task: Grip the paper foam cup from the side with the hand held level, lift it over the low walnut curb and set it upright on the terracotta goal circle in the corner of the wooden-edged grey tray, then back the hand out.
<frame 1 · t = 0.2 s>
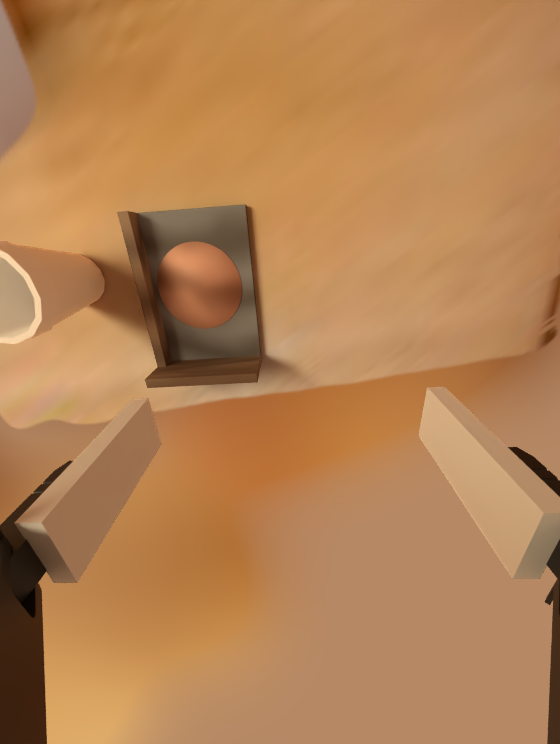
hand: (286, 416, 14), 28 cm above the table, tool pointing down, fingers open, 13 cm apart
wooden-edged grey tray: (201, 286, 38), on the table
foam cup: (81, 278, 38), on the table
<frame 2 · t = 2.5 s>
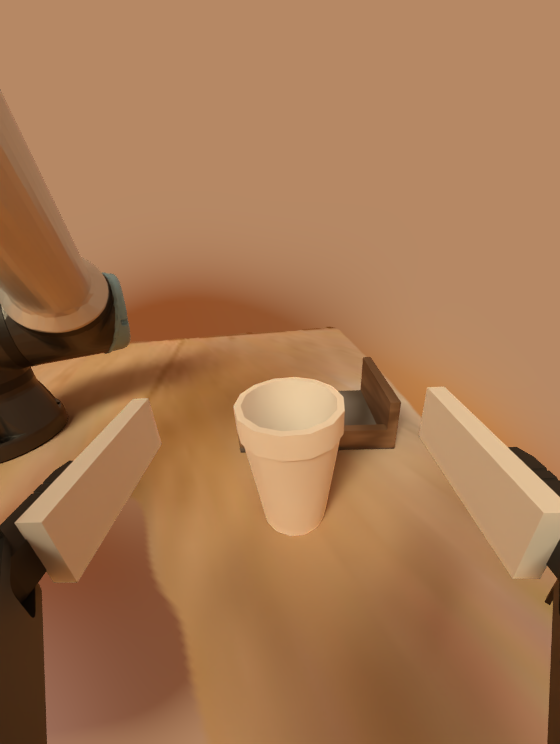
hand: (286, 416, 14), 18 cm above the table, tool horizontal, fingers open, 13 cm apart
wooden-edged grey tray: (305, 419, 45), on the table
foam cup: (294, 509, 30), on the table
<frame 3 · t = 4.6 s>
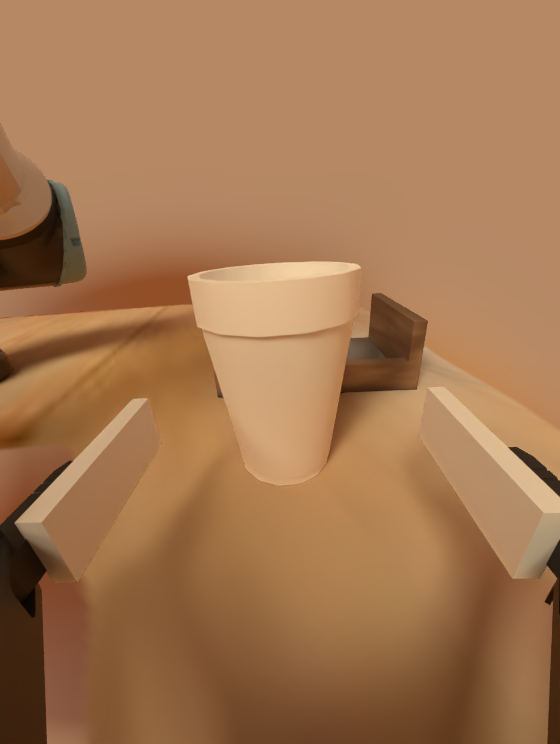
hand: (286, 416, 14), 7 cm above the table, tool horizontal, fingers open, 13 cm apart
wooden-edged grey tray: (301, 365, 36), on the table
foam cup: (285, 455, 22), on the table
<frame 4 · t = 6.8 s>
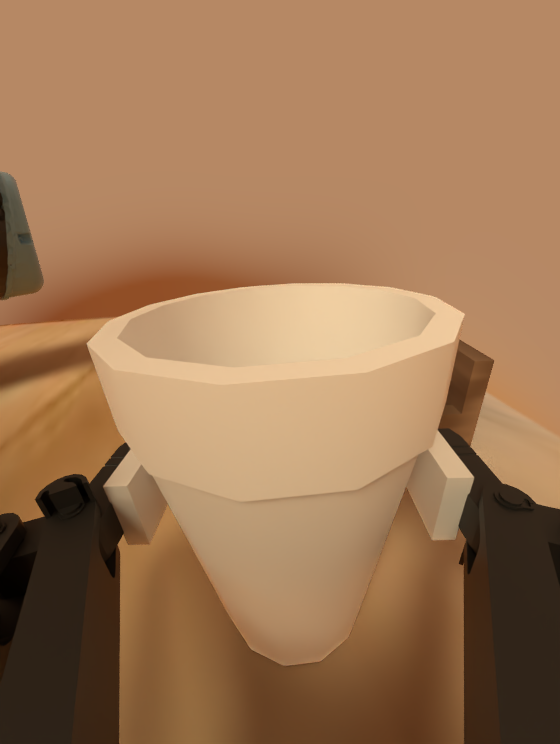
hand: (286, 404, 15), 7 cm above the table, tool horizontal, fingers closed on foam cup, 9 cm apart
wooden-edged grey tray: (310, 402, 28), on the table
foam cup: (293, 580, 14), on the table, touching gripper
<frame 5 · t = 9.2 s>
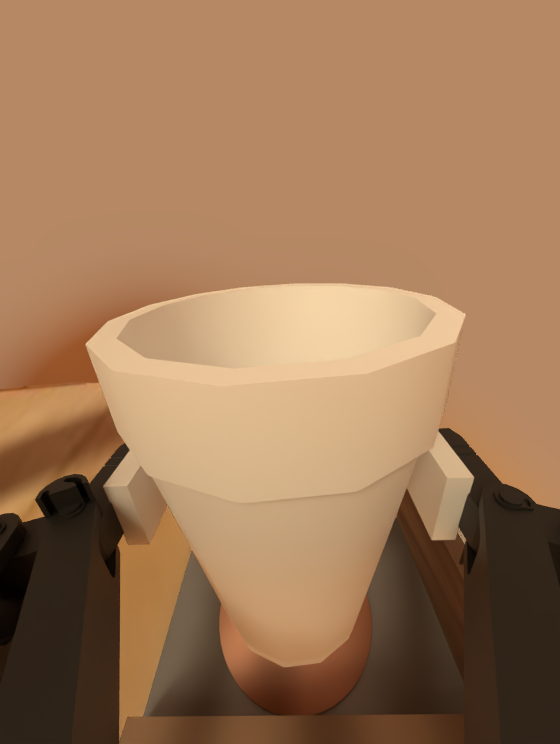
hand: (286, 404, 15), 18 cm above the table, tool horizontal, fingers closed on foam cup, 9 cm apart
wooden-edged grey tray: (294, 611, 22), on the table
foam cup: (293, 581, 14), point 11 cm above the table, touching gripper
when the fingers open (9 cm above the table, at t = 11.7 s): foam cup drops 1 cm, resting on wooden-edged grey tray.
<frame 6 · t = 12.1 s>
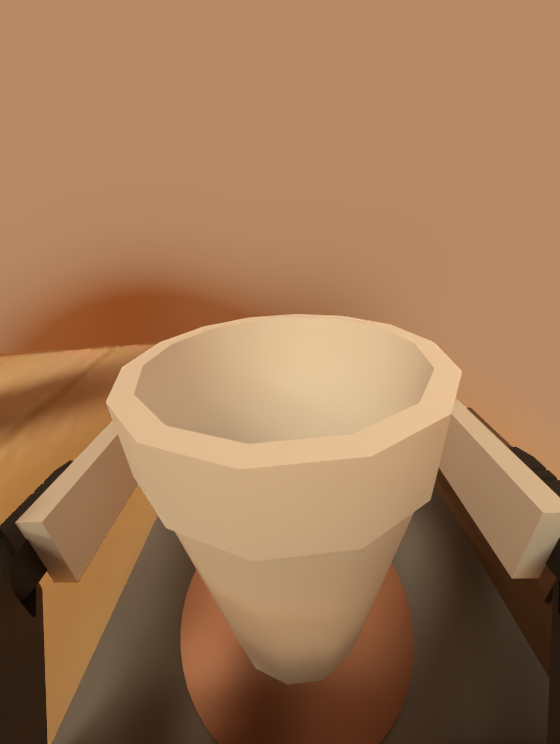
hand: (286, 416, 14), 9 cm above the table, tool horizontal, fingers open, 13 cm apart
wooden-edged grey tray: (294, 604, 15), on the table
foam cup: (295, 598, 14), point 1 cm above the table, touching wooden-edged grey tray
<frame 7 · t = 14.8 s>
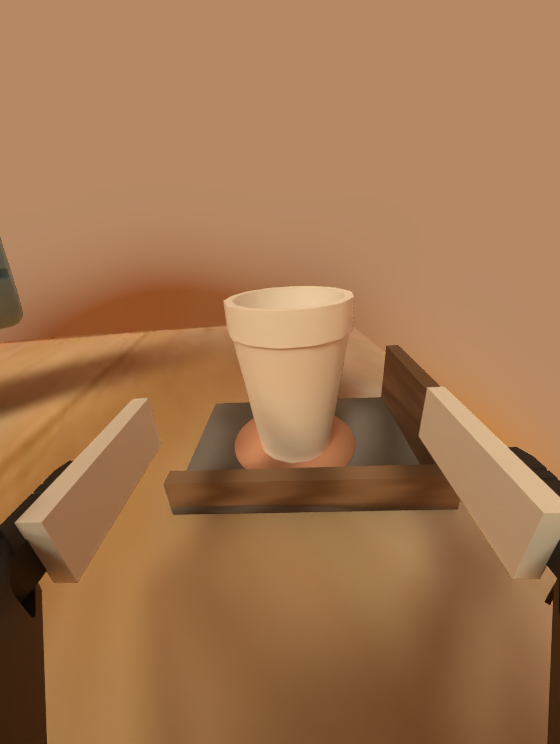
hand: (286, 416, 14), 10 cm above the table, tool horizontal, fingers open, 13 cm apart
wooden-edged grey tray: (294, 446, 27), on the table
foam cup: (294, 440, 27), point 1 cm above the table, touching wooden-edged grey tray
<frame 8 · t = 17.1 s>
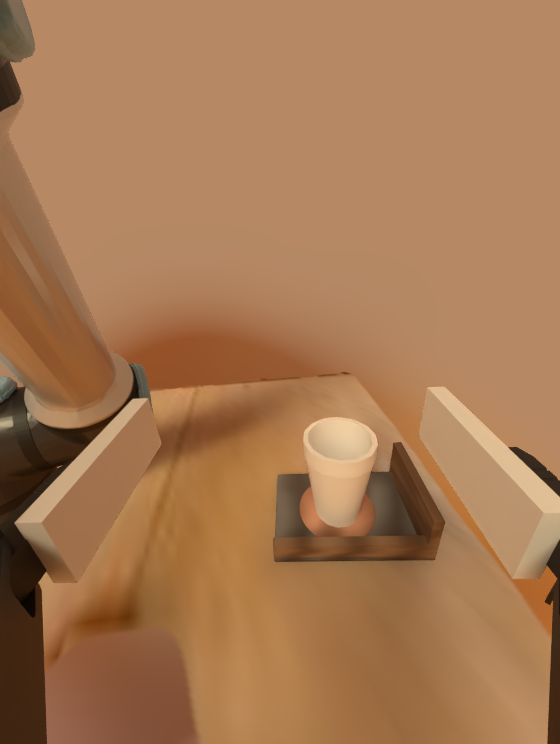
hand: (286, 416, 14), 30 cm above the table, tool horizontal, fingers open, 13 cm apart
wooden-edged grey tray: (336, 512, 43), on the table
foam cup: (337, 509, 43), point 1 cm above the table, touching wooden-edged grey tray
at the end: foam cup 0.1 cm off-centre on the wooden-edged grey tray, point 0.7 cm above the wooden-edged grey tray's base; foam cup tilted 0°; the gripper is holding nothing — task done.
